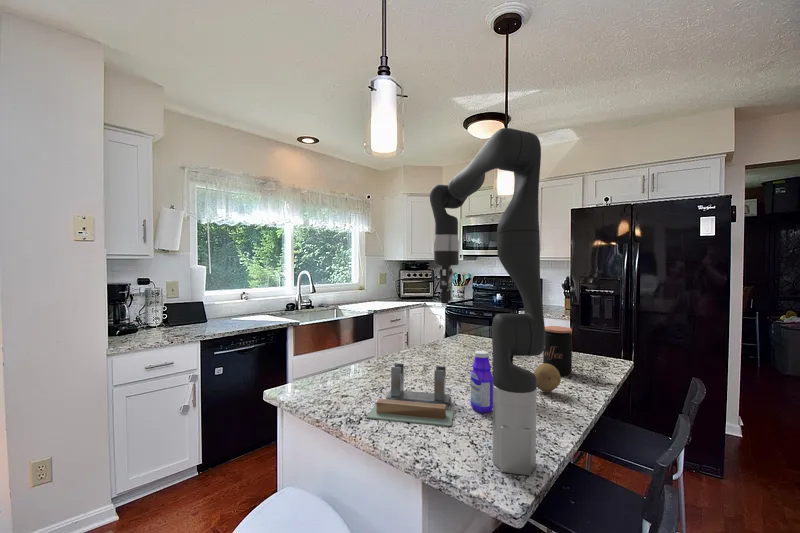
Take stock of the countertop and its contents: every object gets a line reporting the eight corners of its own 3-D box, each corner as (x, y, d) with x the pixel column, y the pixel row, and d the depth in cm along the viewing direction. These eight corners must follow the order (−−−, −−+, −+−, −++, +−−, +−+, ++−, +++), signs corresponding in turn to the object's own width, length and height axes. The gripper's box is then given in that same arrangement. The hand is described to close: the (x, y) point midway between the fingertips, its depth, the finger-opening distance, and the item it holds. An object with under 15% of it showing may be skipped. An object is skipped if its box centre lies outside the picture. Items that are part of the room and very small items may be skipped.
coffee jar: (537, 370, 152) (537, 327, 152) (556, 367, 157) (556, 325, 157) (558, 378, 143) (558, 331, 142) (577, 374, 147) (578, 329, 147)
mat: (451, 426, 100) (451, 425, 100) (366, 418, 105) (366, 416, 105) (453, 412, 110) (453, 410, 110) (376, 404, 115) (376, 403, 115)
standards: (448, 405, 115) (448, 372, 115) (385, 400, 119) (386, 367, 119) (450, 397, 122) (450, 366, 122) (391, 392, 126) (391, 362, 126)
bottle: (466, 406, 115) (467, 350, 114) (482, 403, 117) (483, 348, 116) (480, 415, 108) (480, 355, 108) (496, 412, 110) (497, 354, 110)
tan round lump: (564, 398, 122) (565, 368, 122) (537, 397, 122) (537, 367, 122) (555, 388, 131) (555, 360, 131) (529, 388, 131) (529, 360, 131)
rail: (444, 419, 104) (445, 408, 104) (376, 412, 108) (376, 402, 108) (445, 415, 107) (446, 404, 107) (379, 408, 111) (379, 398, 111)
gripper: (457, 249, 107) (456, 305, 107) (459, 250, 121) (459, 300, 121) (431, 249, 109) (431, 304, 109) (437, 250, 123) (436, 299, 123)
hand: (446, 302), depth 115 cm, fingers open, 8 cm apart
